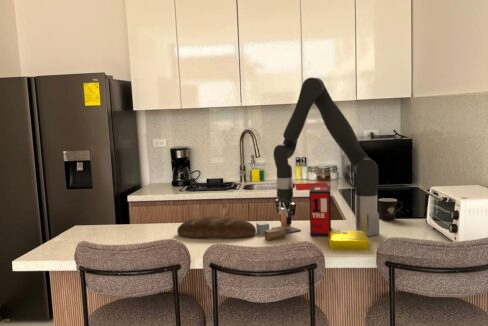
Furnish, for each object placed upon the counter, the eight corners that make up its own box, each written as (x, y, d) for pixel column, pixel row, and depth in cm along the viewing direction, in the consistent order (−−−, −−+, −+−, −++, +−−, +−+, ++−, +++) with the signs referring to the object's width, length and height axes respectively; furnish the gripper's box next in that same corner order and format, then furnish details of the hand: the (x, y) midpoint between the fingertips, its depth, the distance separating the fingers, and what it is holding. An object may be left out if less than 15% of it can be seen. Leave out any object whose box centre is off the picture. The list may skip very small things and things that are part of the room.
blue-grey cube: (269, 233, 189) (269, 223, 189) (260, 234, 187) (259, 224, 187) (265, 231, 193) (265, 221, 193) (256, 232, 192) (256, 222, 191)
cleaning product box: (311, 227, 197) (310, 185, 195) (330, 227, 195) (330, 185, 194) (310, 236, 181) (309, 191, 179) (331, 237, 179) (330, 191, 178)
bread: (183, 230, 200) (182, 213, 200) (258, 231, 195) (257, 213, 194) (173, 239, 185) (172, 221, 184) (253, 240, 179) (253, 221, 178)
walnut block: (285, 239, 180) (285, 229, 179) (268, 241, 176) (268, 232, 176) (281, 236, 183) (280, 227, 183) (264, 239, 180) (264, 230, 180)
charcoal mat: (300, 231, 191) (300, 229, 191) (284, 234, 186) (284, 232, 186) (286, 226, 200) (286, 225, 200) (271, 229, 196) (271, 227, 196)
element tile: (329, 251, 161) (329, 239, 161) (328, 240, 176) (328, 229, 176) (369, 251, 159) (369, 239, 158) (365, 240, 173) (364, 229, 173)
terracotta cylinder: (284, 227, 190) (284, 210, 190) (279, 226, 194) (278, 209, 193) (292, 226, 192) (292, 209, 192) (287, 224, 196) (286, 207, 196)
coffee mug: (378, 221, 204) (378, 201, 203) (378, 217, 212) (378, 198, 211) (404, 222, 200) (404, 201, 199) (402, 218, 209) (402, 198, 208)
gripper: (269, 186, 196) (270, 221, 198) (287, 189, 183) (288, 227, 185) (282, 184, 200) (283, 219, 201) (300, 188, 187) (301, 225, 189)
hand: (285, 223), depth 193 cm, fingers open, 4 cm apart
